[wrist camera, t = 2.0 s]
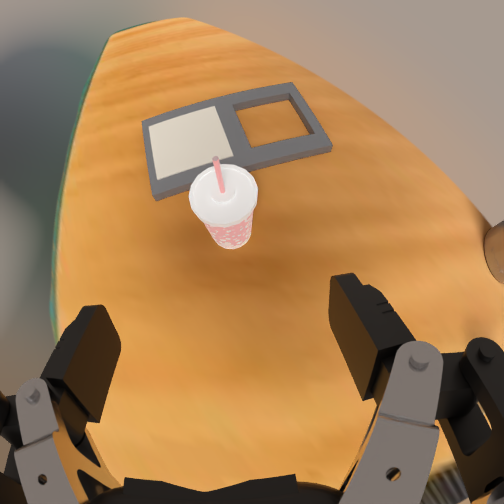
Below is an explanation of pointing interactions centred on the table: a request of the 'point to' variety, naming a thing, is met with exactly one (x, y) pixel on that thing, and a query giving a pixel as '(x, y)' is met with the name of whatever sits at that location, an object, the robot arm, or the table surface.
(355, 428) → the table surface
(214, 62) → the table surface
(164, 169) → the hole board
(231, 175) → the beverage cup
